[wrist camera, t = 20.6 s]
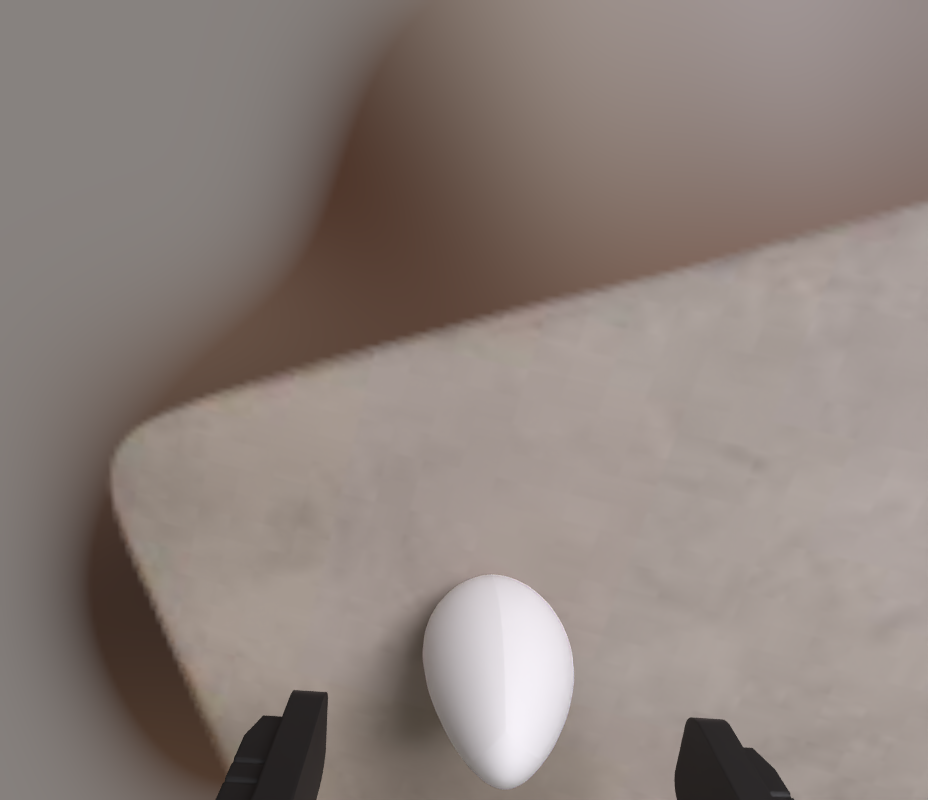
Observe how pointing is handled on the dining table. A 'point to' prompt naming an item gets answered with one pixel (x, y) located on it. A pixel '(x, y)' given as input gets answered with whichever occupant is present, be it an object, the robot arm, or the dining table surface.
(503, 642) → the egg
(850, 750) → the dining table surface
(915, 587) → the dining table surface
